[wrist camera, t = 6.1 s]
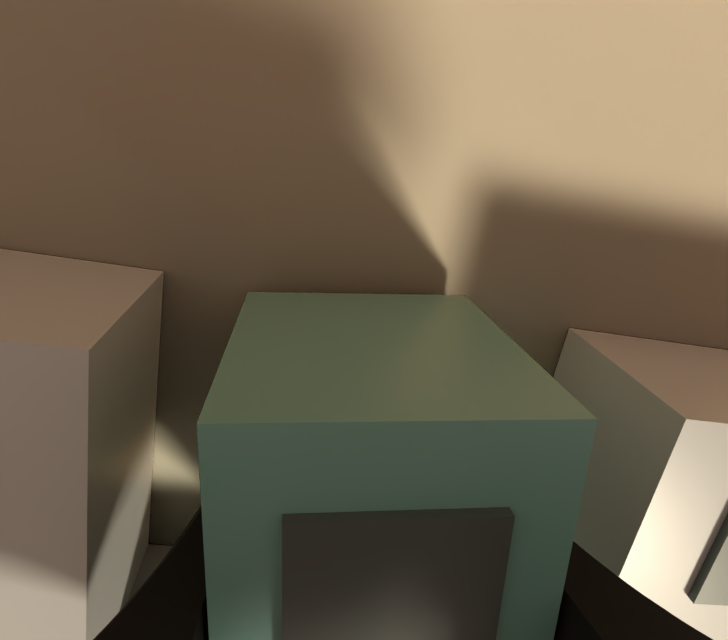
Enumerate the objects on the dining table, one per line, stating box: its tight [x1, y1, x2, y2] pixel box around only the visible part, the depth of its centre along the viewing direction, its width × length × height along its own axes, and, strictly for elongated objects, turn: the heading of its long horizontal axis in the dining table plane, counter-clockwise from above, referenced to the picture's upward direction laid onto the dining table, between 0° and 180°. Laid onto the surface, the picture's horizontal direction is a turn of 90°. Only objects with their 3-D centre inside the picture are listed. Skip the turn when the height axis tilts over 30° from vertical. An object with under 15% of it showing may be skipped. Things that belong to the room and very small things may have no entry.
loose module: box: [197, 292, 597, 640], centre depth 10 cm, size 5×7×6 cm
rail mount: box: [0, 249, 728, 640], centre depth 12 cm, size 26×10×5 cm, turn 80°
